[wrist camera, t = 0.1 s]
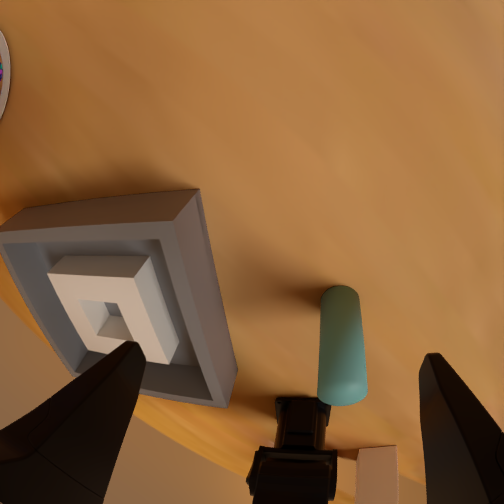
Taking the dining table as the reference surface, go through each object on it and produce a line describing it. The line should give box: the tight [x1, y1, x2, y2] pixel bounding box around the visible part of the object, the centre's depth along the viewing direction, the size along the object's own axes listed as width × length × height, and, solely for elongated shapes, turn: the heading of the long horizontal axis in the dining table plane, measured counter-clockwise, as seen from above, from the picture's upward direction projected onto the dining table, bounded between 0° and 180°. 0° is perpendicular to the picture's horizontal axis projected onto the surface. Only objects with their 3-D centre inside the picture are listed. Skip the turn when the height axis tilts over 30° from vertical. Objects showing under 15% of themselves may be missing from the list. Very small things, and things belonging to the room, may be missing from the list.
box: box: [0, 189, 238, 408], centre depth 28 cm, size 20×20×5 cm
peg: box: [317, 286, 368, 406], centre depth 22 cm, size 3×3×9 cm
